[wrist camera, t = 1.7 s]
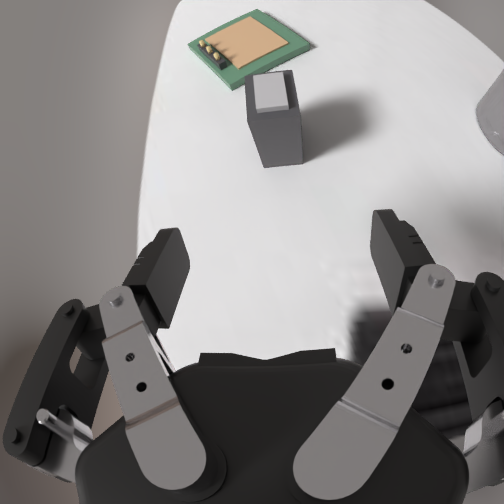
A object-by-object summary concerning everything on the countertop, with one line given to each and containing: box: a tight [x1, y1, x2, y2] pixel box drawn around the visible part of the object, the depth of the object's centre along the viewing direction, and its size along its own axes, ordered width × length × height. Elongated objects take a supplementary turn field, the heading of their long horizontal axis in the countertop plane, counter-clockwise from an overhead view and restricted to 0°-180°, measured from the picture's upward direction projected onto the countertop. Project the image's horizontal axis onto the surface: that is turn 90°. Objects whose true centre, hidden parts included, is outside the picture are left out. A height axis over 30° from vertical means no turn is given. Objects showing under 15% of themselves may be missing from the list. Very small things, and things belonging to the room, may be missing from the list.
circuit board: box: [188, 9, 310, 91], centre depth 30 cm, size 12×12×3 cm
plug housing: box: [244, 70, 303, 168], centre depth 25 cm, size 4×5×10 cm
